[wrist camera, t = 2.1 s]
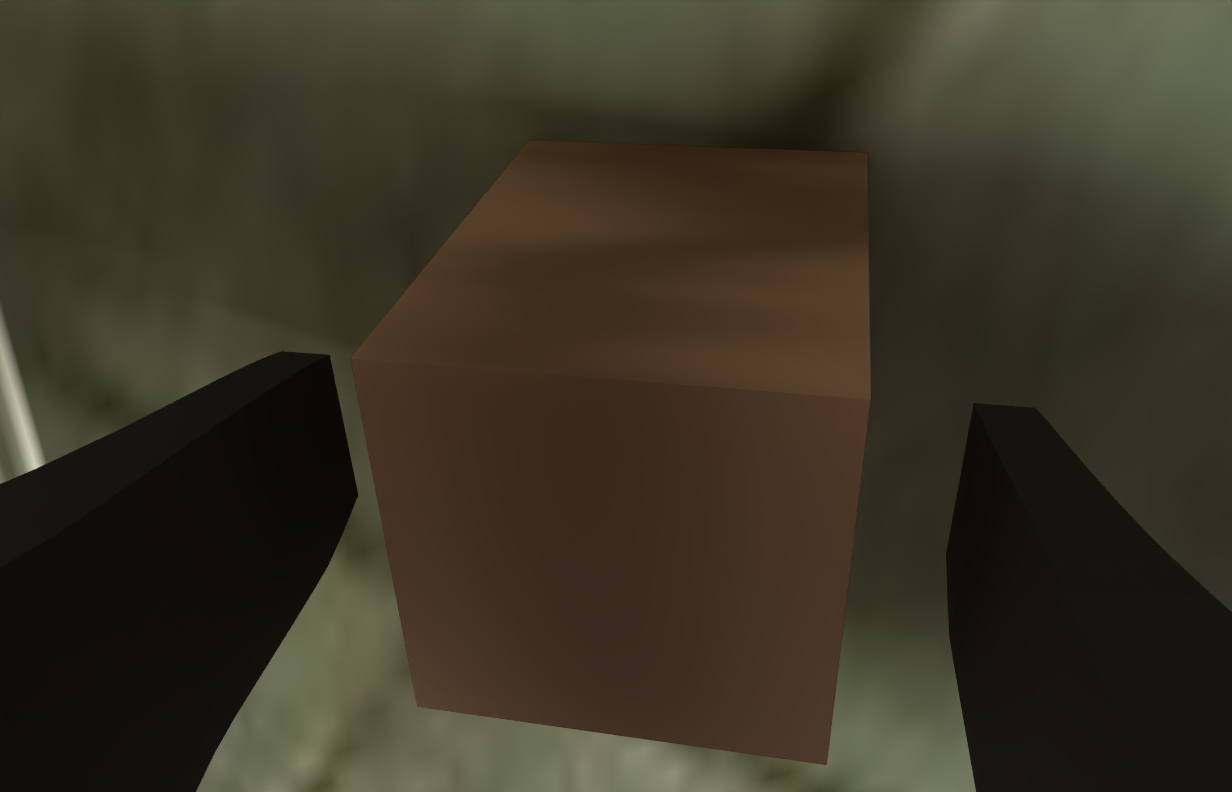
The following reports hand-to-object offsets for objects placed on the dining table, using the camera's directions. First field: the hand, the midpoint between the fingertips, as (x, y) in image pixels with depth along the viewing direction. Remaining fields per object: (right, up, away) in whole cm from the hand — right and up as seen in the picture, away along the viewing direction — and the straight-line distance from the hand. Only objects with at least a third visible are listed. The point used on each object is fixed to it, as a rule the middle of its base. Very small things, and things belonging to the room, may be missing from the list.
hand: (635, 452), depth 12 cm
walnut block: (+1, +2, +3) cm, 4 cm away
